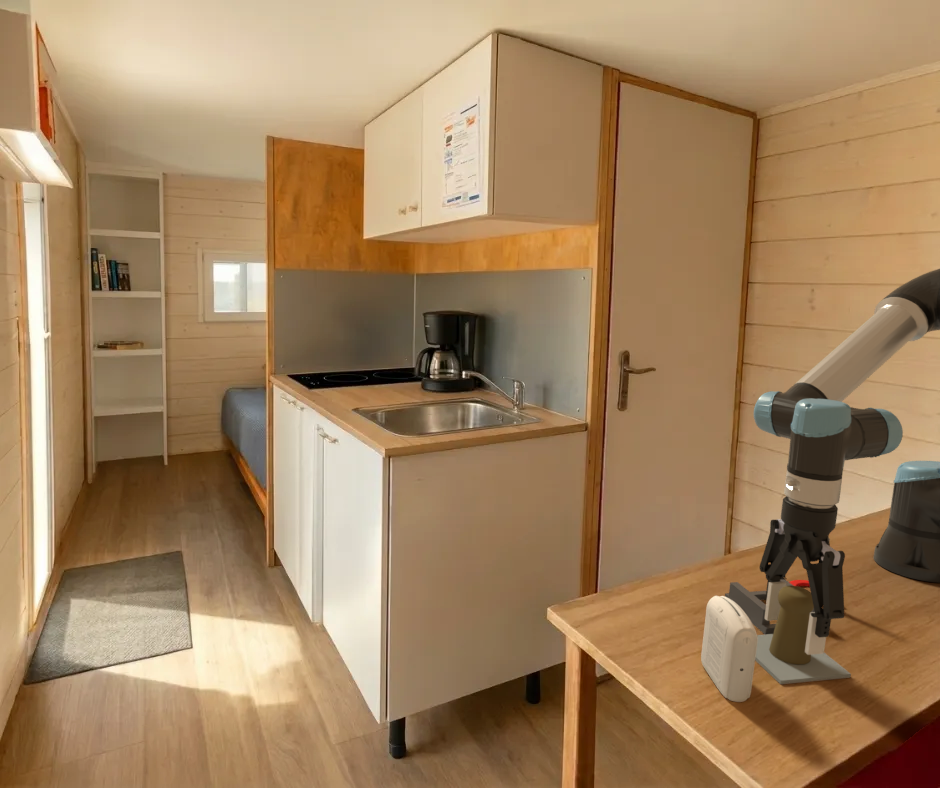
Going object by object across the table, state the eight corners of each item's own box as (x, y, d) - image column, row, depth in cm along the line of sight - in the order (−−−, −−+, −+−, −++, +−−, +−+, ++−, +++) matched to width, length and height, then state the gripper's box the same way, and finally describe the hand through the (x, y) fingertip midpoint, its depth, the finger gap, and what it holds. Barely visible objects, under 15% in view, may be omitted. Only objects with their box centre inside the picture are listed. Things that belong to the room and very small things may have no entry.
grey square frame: (777, 595, 125) (780, 576, 124) (823, 630, 113) (826, 608, 112) (724, 599, 123) (726, 579, 122) (765, 634, 111) (767, 613, 110)
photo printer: (754, 703, 93) (764, 623, 90) (725, 703, 92) (734, 623, 90) (723, 660, 103) (731, 588, 101) (696, 661, 103) (704, 588, 100)
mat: (797, 634, 111) (798, 631, 111) (850, 677, 99) (851, 673, 99) (734, 640, 109) (734, 636, 109) (780, 684, 97) (780, 680, 97)
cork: (796, 668, 100) (805, 601, 98) (761, 649, 105) (768, 586, 103) (818, 657, 103) (827, 592, 101) (783, 640, 108) (790, 577, 106)
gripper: (745, 478, 109) (731, 602, 113) (841, 528, 88) (820, 678, 92) (785, 477, 111) (770, 600, 115) (889, 526, 89) (866, 674, 94)
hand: (792, 635), depth 103 cm, fingers open, 9 cm apart
